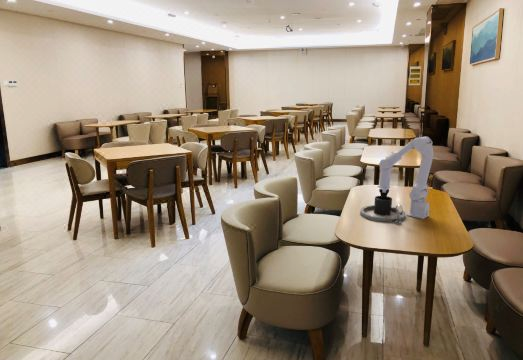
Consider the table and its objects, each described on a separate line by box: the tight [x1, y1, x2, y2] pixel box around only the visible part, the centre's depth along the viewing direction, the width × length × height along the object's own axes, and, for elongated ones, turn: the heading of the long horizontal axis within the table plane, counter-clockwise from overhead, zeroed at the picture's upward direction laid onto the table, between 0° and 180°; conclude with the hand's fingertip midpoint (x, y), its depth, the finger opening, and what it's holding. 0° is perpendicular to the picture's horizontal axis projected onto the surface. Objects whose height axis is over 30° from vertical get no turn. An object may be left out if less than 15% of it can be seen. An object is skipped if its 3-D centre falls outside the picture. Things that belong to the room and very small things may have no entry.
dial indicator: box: [393, 204, 404, 226], centre depth 216 cm, size 5×3×10 cm, turn 16°
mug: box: [373, 195, 393, 217], centre depth 234 cm, size 9×12×9 cm
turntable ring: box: [359, 204, 406, 223], centre depth 230 cm, size 24×24×2 cm
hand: (383, 201), depth 245 cm, fingers closed
